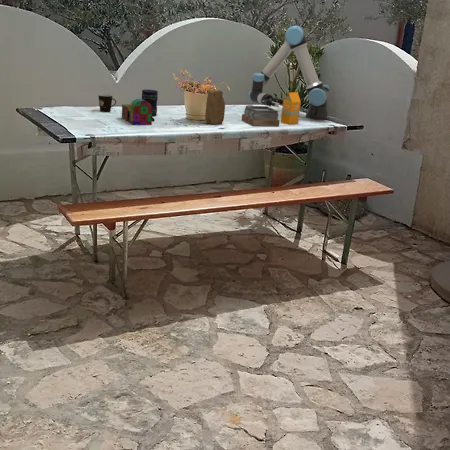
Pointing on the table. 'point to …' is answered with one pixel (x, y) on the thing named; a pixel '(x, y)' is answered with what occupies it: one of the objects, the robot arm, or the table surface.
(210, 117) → the block
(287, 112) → the orange juice
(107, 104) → the coffee mug
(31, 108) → the table surface
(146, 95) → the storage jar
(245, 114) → the grey square tray
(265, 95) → the robot arm
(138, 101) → the multicoloured round-topped piece
